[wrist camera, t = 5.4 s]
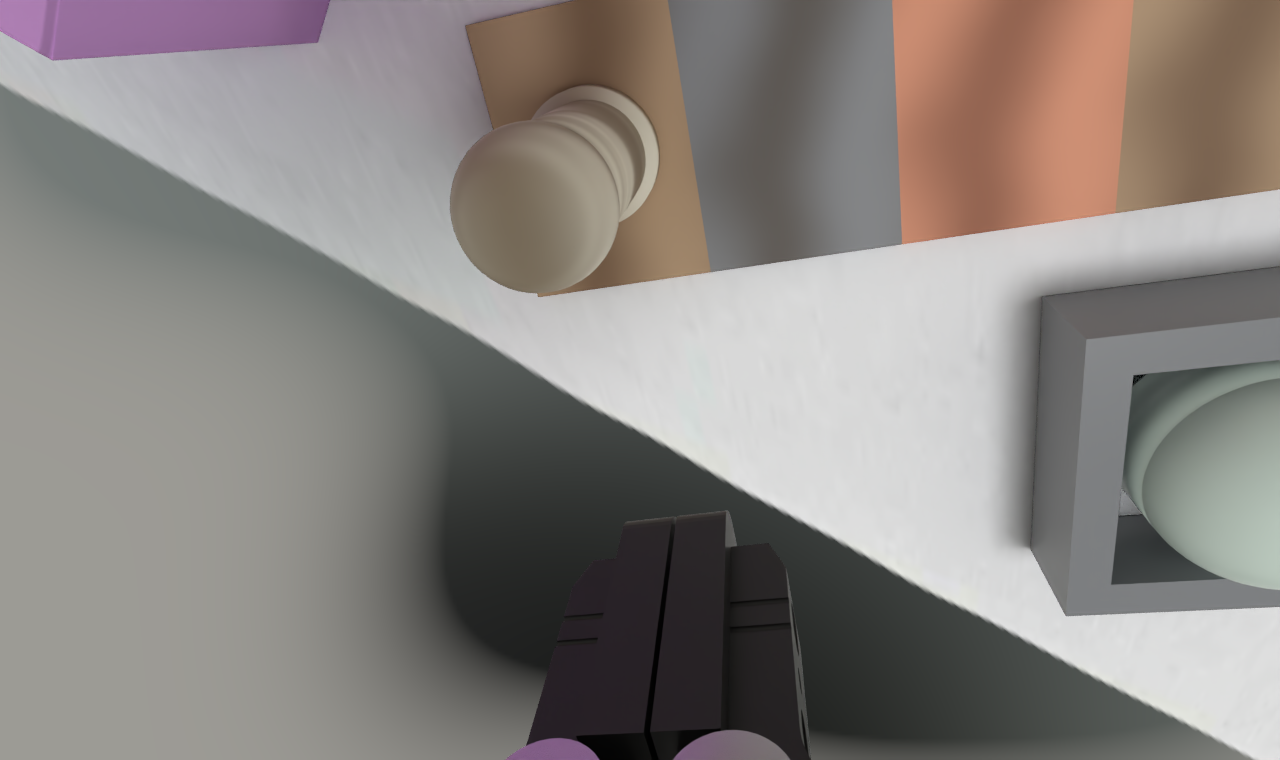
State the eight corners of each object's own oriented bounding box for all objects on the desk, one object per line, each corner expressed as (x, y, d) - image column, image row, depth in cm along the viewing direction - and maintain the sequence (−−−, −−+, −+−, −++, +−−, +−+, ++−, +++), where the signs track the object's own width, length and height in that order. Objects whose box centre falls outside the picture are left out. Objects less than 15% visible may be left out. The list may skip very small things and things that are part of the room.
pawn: (646, 71, 25) (587, 105, 16) (670, 209, 27) (630, 311, 18) (515, 98, 26) (386, 145, 17) (548, 230, 28) (449, 336, 19)
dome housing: (1425, 248, 25) (1539, 287, 21) (1347, 530, 30) (1428, 600, 26) (1042, 296, 27) (1086, 339, 23) (1030, 549, 32) (1065, 616, 29)
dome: (1338, 317, 26) (1546, 424, 19) (1297, 492, 29) (1463, 636, 22) (1103, 344, 27) (1219, 451, 21) (1090, 507, 31) (1186, 646, 24)
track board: (1420, -195, 20) (1438, -200, 19) (1341, 174, 24) (1354, 178, 23) (471, 25, 25) (465, 25, 25) (541, 291, 30) (538, 297, 29)
